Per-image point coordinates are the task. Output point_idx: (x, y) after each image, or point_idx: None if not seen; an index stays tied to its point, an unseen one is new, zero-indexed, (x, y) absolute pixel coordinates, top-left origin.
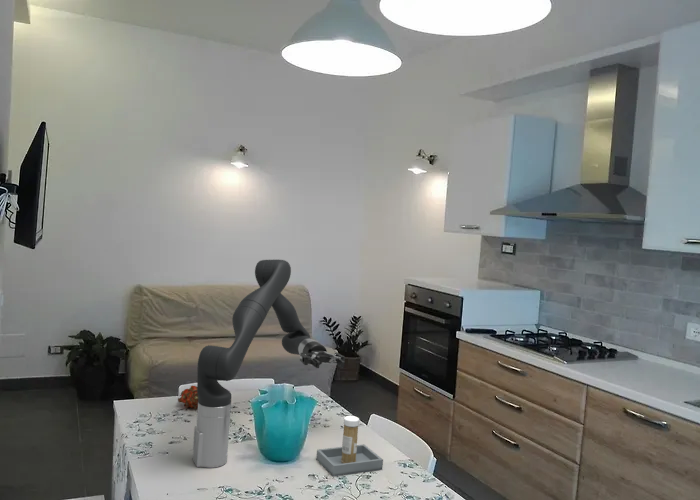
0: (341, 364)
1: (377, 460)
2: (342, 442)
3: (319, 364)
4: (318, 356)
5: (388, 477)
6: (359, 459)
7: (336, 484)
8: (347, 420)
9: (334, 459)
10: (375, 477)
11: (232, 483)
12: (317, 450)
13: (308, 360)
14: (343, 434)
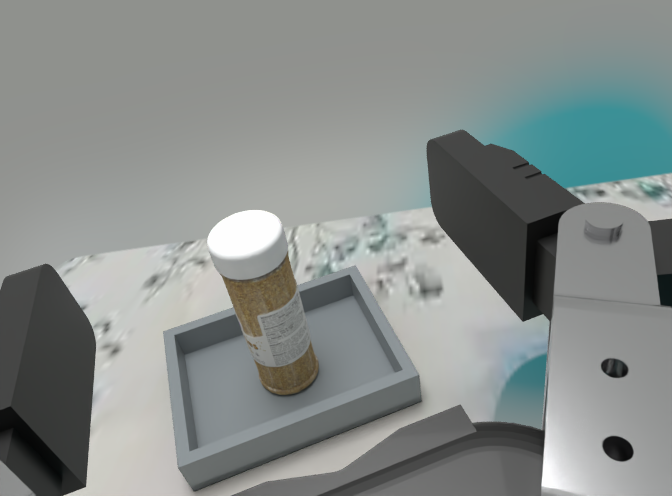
0: (69, 306)
1: (187, 323)
2: (303, 317)
3: (428, 169)
4: (494, 425)
5: (180, 312)
6: (236, 403)
7: (352, 255)
8: (271, 213)
9: (342, 388)
10: (222, 306)
11: (666, 216)
12: (416, 371)
13: (664, 239)
14: (296, 283)
